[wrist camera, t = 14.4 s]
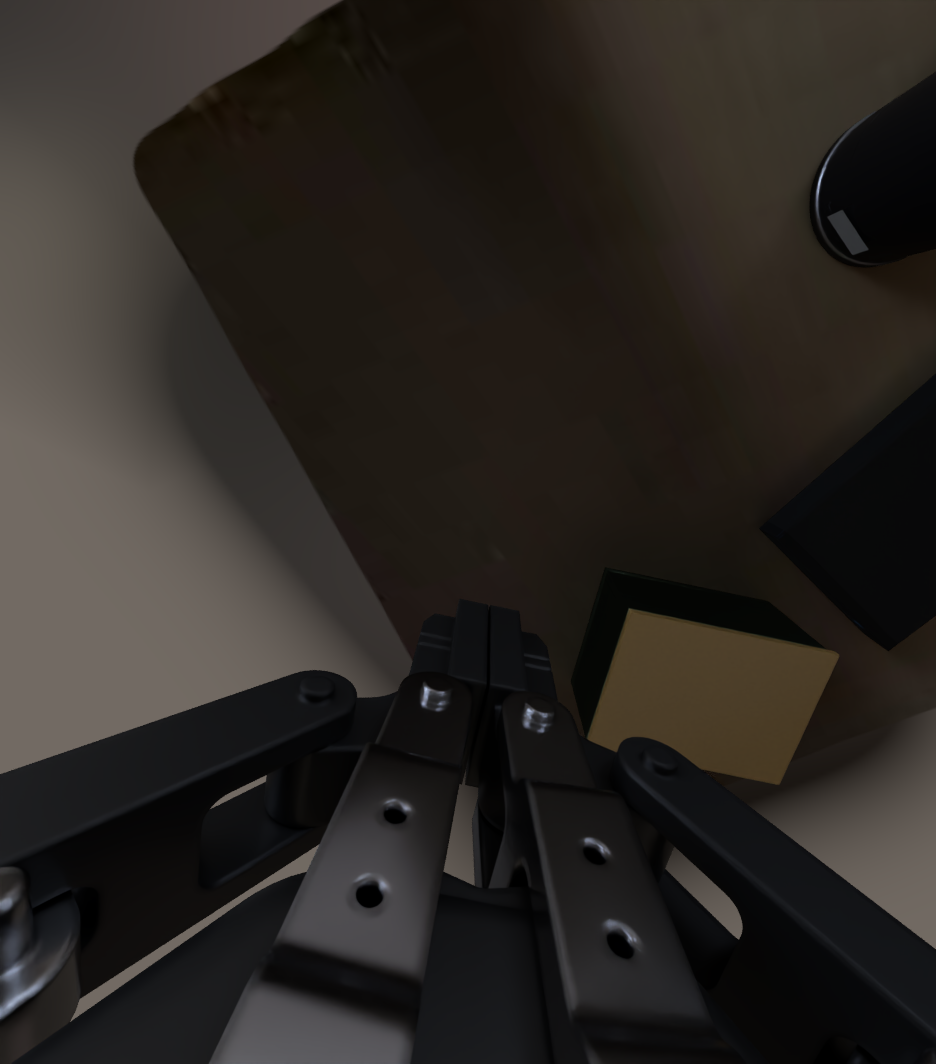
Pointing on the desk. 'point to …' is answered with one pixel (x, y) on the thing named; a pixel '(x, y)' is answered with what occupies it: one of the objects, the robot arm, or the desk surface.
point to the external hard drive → (873, 525)
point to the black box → (669, 601)
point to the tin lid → (711, 694)
